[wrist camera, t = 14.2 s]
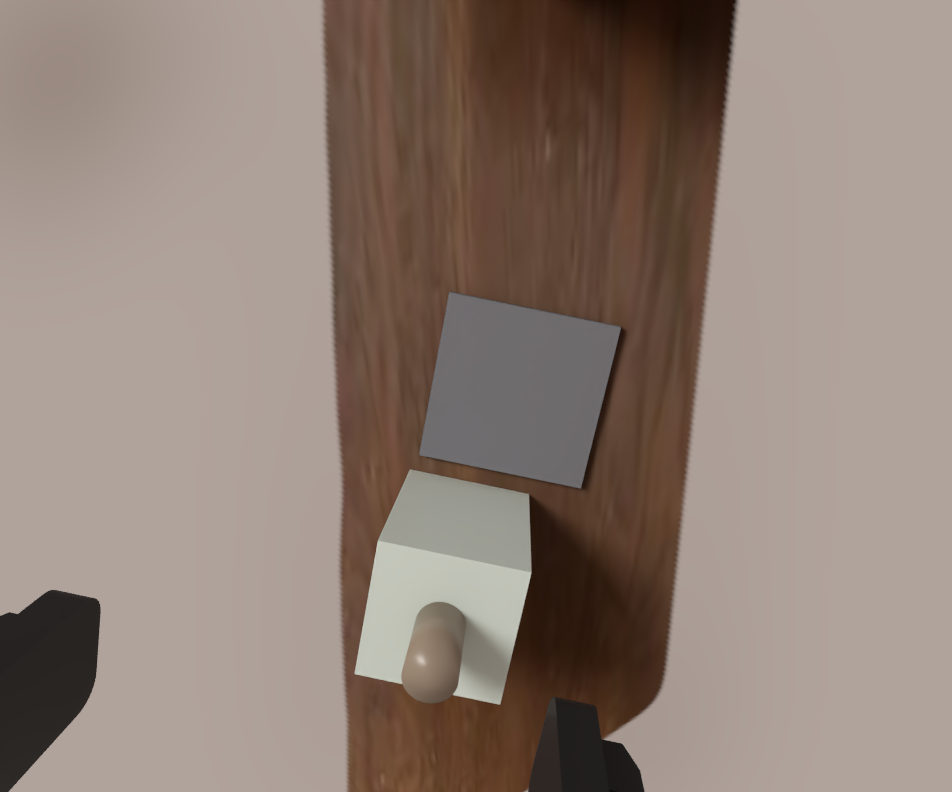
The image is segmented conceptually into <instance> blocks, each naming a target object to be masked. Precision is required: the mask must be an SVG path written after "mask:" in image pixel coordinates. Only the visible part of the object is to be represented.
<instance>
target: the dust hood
mask: <svg viewBox="0 0 952 792" xmlns="http://www.w3.org/2000/svg"><path fill="white" fill-rule="evenodd" d="M531 573H532V571H531V540H530V509H529V494H526V493H521V492H517V491H512V490H507V489H502V488H497V487H493V486H488V485H483V484H478V483H473V482H468V481H464V480H459V479H454V478H449V477H444V476H439V475H435V474H430V473H425V472H420V471H415V470H411V469H410V471H409V473H408V475H407V477H406V480H405V482H404V484H403V486H402V488H401V491H400V493H399V495H398V497H397V500H396V502H395V504H394V506H393V508H392V511H391V513H390V515H389V517H388V520H387V522H386V524H385V526H384V528H383V531H382V533H381V535H380V537H379V539H378V543H377V549H376V555H375V561H374V566H373V572H372V578H371V583H370V589H369V595H368V601H367V606H366V612H365V618H364V623H363V629H362V635H361V640H360V646H359V652H358V658H357V663H356V669H355V674H357V675H362V676H367V677H371V678H376V679H381V680H386V681H390V682H395V683H400V684H403V686H404V688H405V690H406V691H407V692H408V694H409V695H411V696H412V697H413V698H415V699H416V700H419V701H421V702H425V703H439V702H442V701H444V700H446V699H448V698H449V697H451V696H452V695H457V696H461V697H466V698H471V699H476V700H480V701H485V702H490V703H494V704H499V705H500V703H501V699H502V694H503V690H504V686H505V682H506V678H507V673H508V669H509V665H510V661H511V657H512V652H513V648H514V644H515V640H516V636H517V632H518V627H519V623H520V619H521V615H522V611H523V606H524V602H525V598H526V594H527V590H528V585H529V581H530V577H531Z"/></svg>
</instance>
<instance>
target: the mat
mask: <svg viewBox="0 0 952 792" xmlns="http://www.w3.org/2000/svg"><path fill="white" fill-rule="evenodd" d="M620 330H621V327H620V326H616V325H611V324H606V323H601V322H597V321H592V320H587V319H582V318H577V317H572V316H567V315H562V314H557V313H552V312H548V311H543V310H538V309H533V308H528V307H523V306H518V305H513V304H508V303H503V302H499V301H494V300H489V299H484V298H479V297H474V296H469V295H464V294H459V293H454V292H449V297H448V302H447V308H446V313H445V318H444V324H443V329H442V335H441V340H440V345H439V351H438V356H437V362H436V367H435V372H434V378H433V383H432V388H431V394H430V399H429V405H428V410H427V415H426V421H425V426H424V432H423V437H422V442H421V448H420V453H419V455H422V456H426V457H431V458H436V459H441V460H446V461H450V462H455V463H460V464H465V465H470V466H475V467H479V468H484V469H489V470H494V471H499V472H504V473H508V474H513V475H518V476H523V477H528V478H533V479H537V480H542V481H547V482H552V483H557V484H561V485H566V486H571V487H576V488H581V486H582V482H583V478H584V474H585V470H586V466H587V462H588V458H589V454H590V450H591V446H592V442H593V438H594V434H595V430H596V426H597V422H598V418H599V414H600V410H601V406H602V402H603V398H604V394H605V390H606V386H607V382H608V378H609V374H610V370H611V366H612V362H613V358H614V354H615V350H616V346H617V342H618V338H619V334H620Z"/></svg>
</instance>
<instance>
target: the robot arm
mask: <svg viewBox="0 0 952 792" xmlns="http://www.w3.org/2000/svg"><path fill="white" fill-rule="evenodd" d="M99 626H100V604H99V601H98V600H97V599H95V598H90V597H86V596H80V595H76V594H71V593H67V592H62V591H57V590H50V591H48V592H46V593H45V594H43V595H42V596H41V597H39V598H38V599H37V600H35V601H34V602H33V603H32V604H30V605H29V606H28V607H26V608H25V609H24V610H23V611H21V612H20V613H19V614H14V613H10V612H9V613H7V614H4V615H2V616H0V792H9V790H10V789H11V788H12V787H13V786H14V785H15V784H16V783H17V781H18V780H19V779H20V778H21V777H22V776H23V775H24V774H25V773H26V772H27V771H28V769H29V768H30V767H31V766H32V765H33V764H34V763H35V762H36V761H37V759H38V758H39V757H40V756H41V755H42V754H43V753H44V751H46V749H47V748H48V747H49V746H50V745H51V744H52V743H53V742H54V740H56V738H57V737H58V736H59V735H60V734H61V733H62V732H63V731H64V729H65V728H66V727H67V726H68V725H69V724H70V723H71V722H72V721H73V719H74V718H75V717H76V716H77V715H78V714H79V713H80V711H81V710H82V709H83V707H84V705H85V704H86V702H87V700H88V698H89V696H90V694H91V691H92V688H93V686H94V682H95V678H96V668H97V655H98V639H99ZM528 792H644V788H643V783H642V779H641V774H640V770H639V769H638V767H637V765H636V764H635V762H634V761H633V759H632V758H631V756H630V755H629V753H628V752H627V750H626V749H625V747H624V746H623V744H621V743H616V742H611V741H606V740H602V739H601V734H600V728H599V722H598V715H597V710H596V707H595V706H594V705H590V704H586V703H581V702H576V701H571V700H567V699H562V698H557V697H552V698H551V700H550V703H549V706H548V710H547V714H546V717H545V721H544V725H543V729H542V733H541V737H540V740H539V744H538V748H537V752H536V756H535V760H534V764H533V768H532V772H531V777H530V783H529V790H528Z"/></svg>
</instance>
